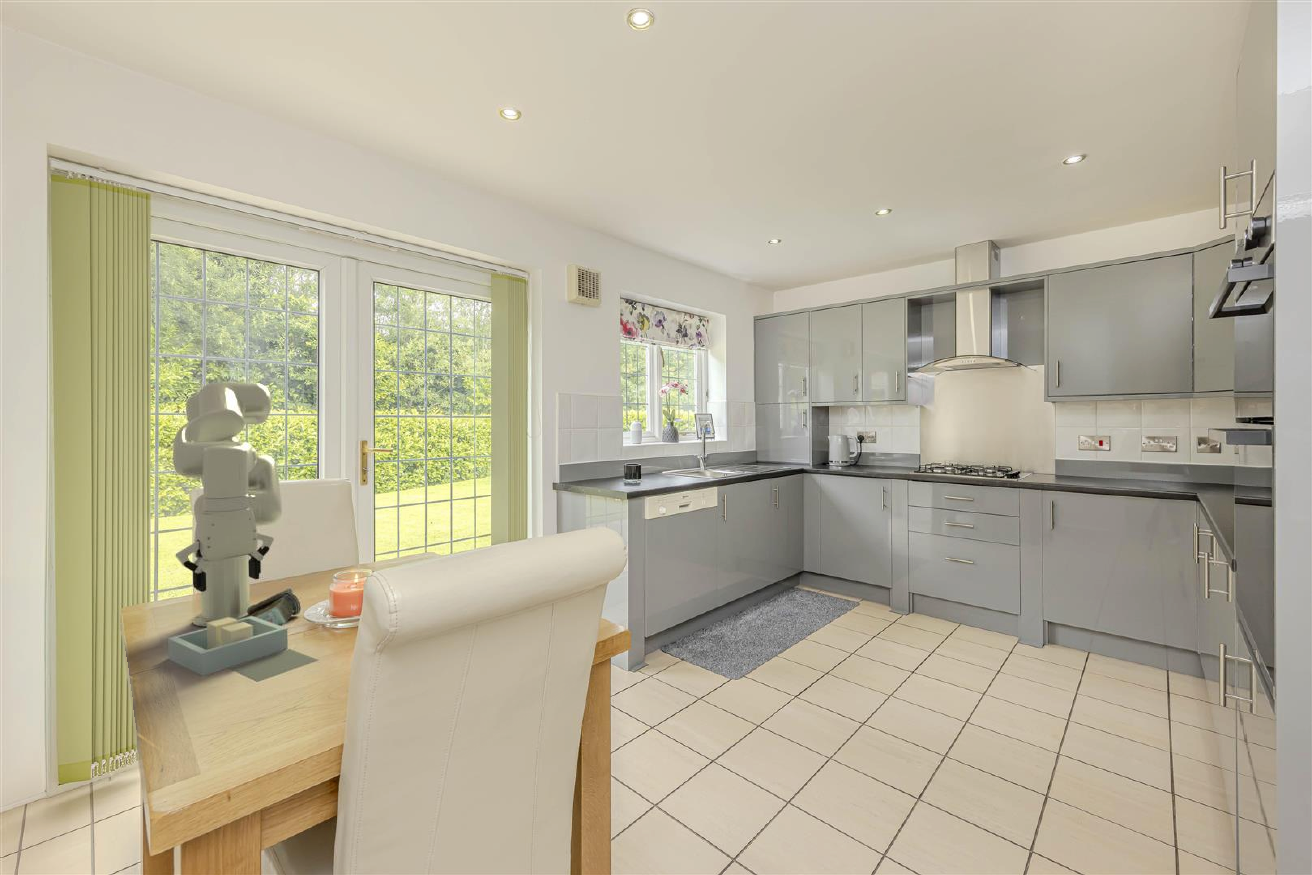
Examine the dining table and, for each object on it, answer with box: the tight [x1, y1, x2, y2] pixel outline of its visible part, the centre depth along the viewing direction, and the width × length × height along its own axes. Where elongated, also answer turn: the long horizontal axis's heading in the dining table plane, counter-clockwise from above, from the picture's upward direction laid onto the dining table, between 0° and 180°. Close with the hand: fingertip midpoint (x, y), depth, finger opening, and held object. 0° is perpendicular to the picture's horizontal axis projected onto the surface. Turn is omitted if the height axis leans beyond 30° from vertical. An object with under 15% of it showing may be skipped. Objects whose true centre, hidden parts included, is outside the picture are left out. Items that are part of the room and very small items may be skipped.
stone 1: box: [206, 617, 238, 650], centre depth 119 cm, size 4×4×6 cm
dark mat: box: [228, 648, 318, 682], centre depth 112 cm, size 11×11×1 cm
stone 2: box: [221, 622, 253, 645], centre depth 116 cm, size 4×4×6 cm
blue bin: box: [167, 616, 289, 677], centre depth 118 cm, size 15×15×4 cm
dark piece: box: [247, 588, 301, 626], centre depth 137 cm, size 10×7×12 cm
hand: (228, 583), depth 120 cm, fingers open, 9 cm apart
